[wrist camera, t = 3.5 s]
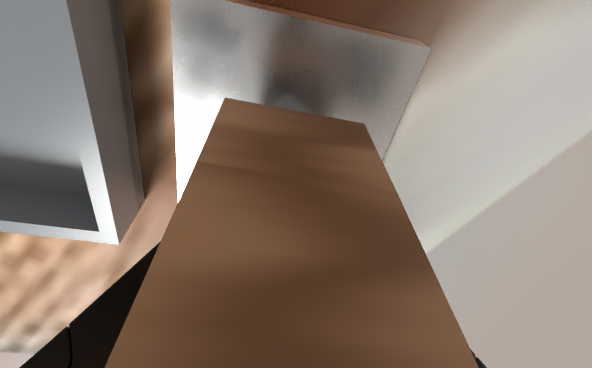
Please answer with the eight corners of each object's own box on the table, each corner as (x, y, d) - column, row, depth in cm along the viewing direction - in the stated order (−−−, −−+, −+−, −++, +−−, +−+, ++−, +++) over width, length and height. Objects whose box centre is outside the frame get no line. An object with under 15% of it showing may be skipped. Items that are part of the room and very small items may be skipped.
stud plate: (348, 208, 19) (364, 274, 15) (185, 185, 18) (156, 251, 14) (418, 40, 13) (474, 75, 9) (181, -15, 12) (128, -2, 8)
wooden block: (364, 123, 11) (515, 446, 4) (326, 224, 14) (368, 508, 7) (224, 97, 10) (76, 432, 3) (217, 210, 13) (134, 510, 6)
